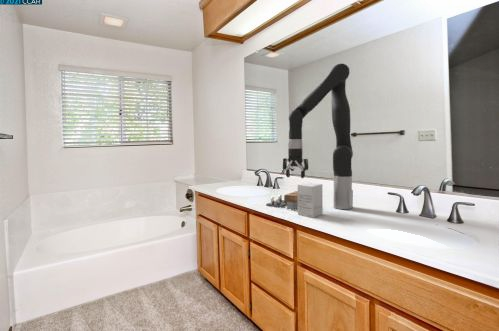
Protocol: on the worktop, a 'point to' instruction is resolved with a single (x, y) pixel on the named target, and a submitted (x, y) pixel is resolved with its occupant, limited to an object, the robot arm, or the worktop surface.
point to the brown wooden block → (291, 197)
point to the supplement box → (310, 199)
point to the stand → (292, 205)
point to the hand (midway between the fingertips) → (295, 177)
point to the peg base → (277, 202)
